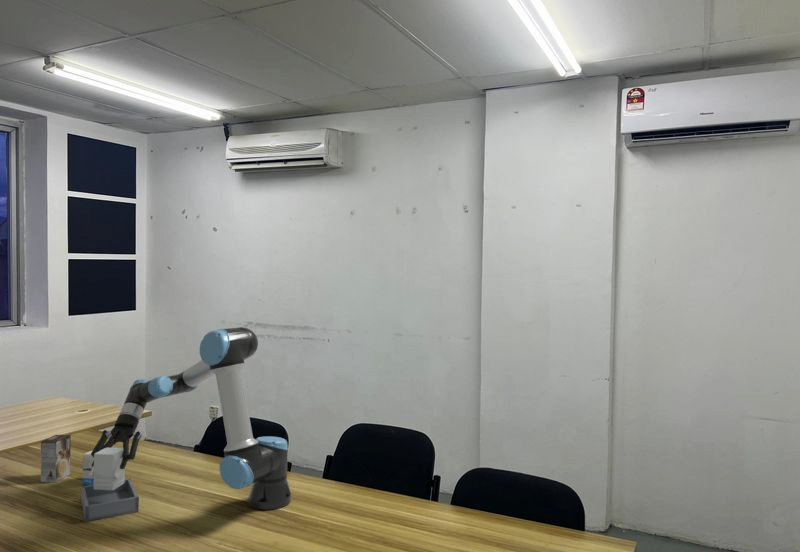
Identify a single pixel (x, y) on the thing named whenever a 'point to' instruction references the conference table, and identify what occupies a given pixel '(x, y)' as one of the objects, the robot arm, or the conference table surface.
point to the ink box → (87, 468)
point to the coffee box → (55, 458)
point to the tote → (109, 501)
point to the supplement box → (107, 469)
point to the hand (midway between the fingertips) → (103, 476)
